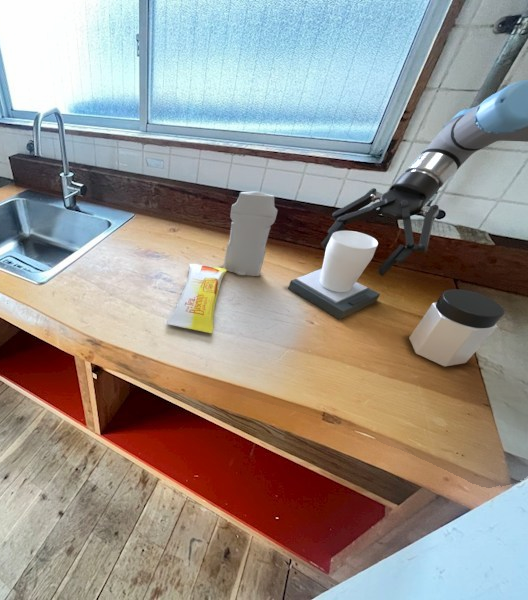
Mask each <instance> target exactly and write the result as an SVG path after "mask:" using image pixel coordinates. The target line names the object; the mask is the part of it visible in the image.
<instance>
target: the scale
mask: <svg viewBox="0 0 528 600" xmlns="http://www.w3.org/2000/svg"><path fill="white" fill-rule="evenodd" d="M321 272H322V268H320V269H317V270H314V271H311V272H310V273H307V274H304V275H301V276H298V277H296V278H294V279H291V280H290V282H289V285H288V289H289V290H290V291H292V292H293V293H295V294H296V295H299V296H300V297H302V298H303V299H305V300H307V301H308V302H310V303H311V304H313V305H315V306H316V307H318V308H319V309H321V310H322V311H324V312H326V313H328V314H330V315H331V316H333V317H334V318H337V319H338V320H341V319H344V318H346V317H347V316H350V315H352V314H354V313H356V312H358V311H360V310H362V309H364V308H367V307H369V306H371V305H373V304H375V303H376V302H377V300H378V298H379V297H380V295H381V293H379V292H377V291H376V290H374V289H371V288H369V287H367V286H366V285H363V284H361V283H359V282H357V281H356V282H355V284H354V285H353V287H352V288H351V290H349V291H347V292H334V291H331V290H328V289H326V288H325V287H323V286H322V285H321V284H320V277H321Z"/></svg>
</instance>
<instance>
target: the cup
mask: <svg viewBox="0 0 528 600" xmlns="http://www.w3.org/2000/svg"><path fill="white" fill-rule="evenodd" d="M378 245H379V242H378V240H377V239H376V238H375V237H373V236H371V235H369V234H367V233H364V232H359V231H354V230H343V231H337V232H334V233H333V234H332V236H331V238H330V240H329V242H328V244H327V247H326V250H324V251H325V252H324V256H323V261H322V267H321V269H322V272H321V277H320V284H321V285H322V286H323V287H325V288H326V289H328V290H331V291H334V292H347V291H349V290H351V288H352V287H353V285H354V284H355V282H357V281H358V280H359V278H360V277H361V276H362V274H363V272H364V271H365V270H366V268H367V267H368V266H369V264H370V262H371V261H372V259H373V258H374V255H375V253H376V250H377V248H378Z"/></svg>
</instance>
